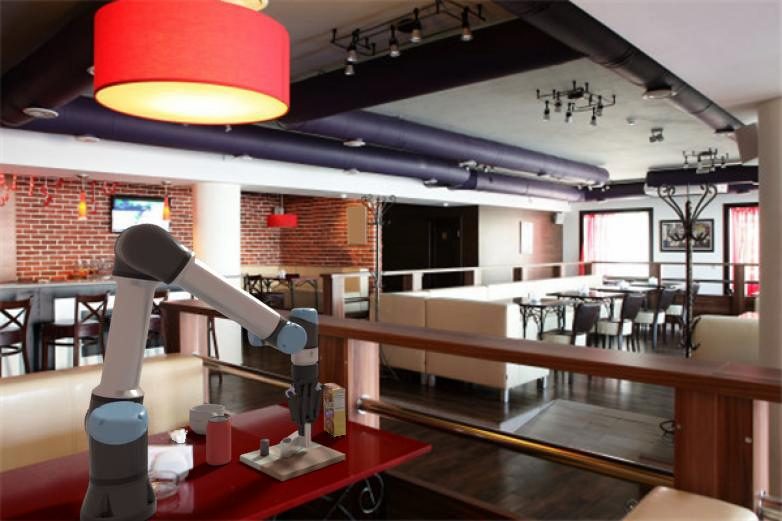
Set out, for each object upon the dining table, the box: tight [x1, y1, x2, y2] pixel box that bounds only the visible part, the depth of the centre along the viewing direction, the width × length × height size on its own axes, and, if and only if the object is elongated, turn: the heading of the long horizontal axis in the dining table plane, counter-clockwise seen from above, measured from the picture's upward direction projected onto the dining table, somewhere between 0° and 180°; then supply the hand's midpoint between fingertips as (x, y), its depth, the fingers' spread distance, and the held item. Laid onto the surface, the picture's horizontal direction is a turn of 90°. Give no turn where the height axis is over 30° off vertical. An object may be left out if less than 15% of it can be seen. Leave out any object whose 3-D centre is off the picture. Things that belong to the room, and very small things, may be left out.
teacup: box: [188, 403, 226, 435], centre depth 180 cm, size 14×11×8 cm
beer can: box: [205, 415, 232, 466], centre depth 155 cm, size 7×7×12 cm
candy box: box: [323, 382, 347, 438], centre depth 180 cm, size 9×4×15 cm, turn 28°
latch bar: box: [279, 430, 302, 458], centre depth 159 cm, size 10×3×5 cm, turn 164°
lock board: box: [239, 438, 346, 482], centre depth 157 cm, size 21×20×6 cm
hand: (305, 446), depth 160 cm, fingers closed
